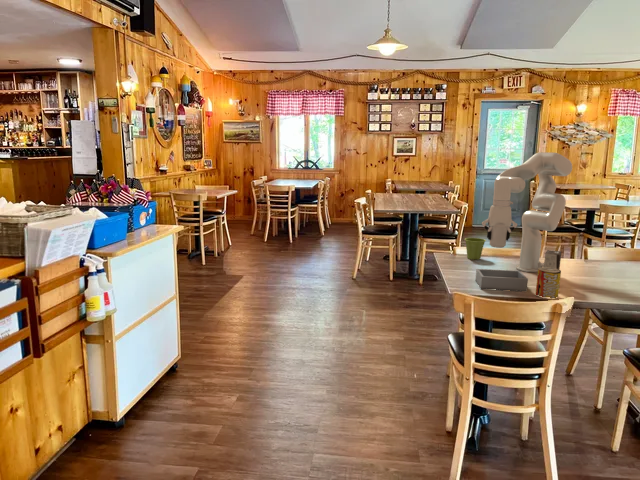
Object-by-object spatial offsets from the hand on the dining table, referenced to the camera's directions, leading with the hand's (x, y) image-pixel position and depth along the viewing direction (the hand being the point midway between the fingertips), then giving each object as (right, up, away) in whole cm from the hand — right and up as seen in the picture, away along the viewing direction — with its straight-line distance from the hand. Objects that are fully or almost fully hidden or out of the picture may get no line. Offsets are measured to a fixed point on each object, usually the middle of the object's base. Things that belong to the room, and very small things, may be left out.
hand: (497, 239), depth 227 cm
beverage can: (+13, -25, -21) cm, 36 cm away
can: (0, -4, +1) cm, 4 cm away
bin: (-2, -22, -7) cm, 23 cm away
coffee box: (+23, -22, -5) cm, 32 cm away
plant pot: (+3, -11, +45) cm, 47 cm away
